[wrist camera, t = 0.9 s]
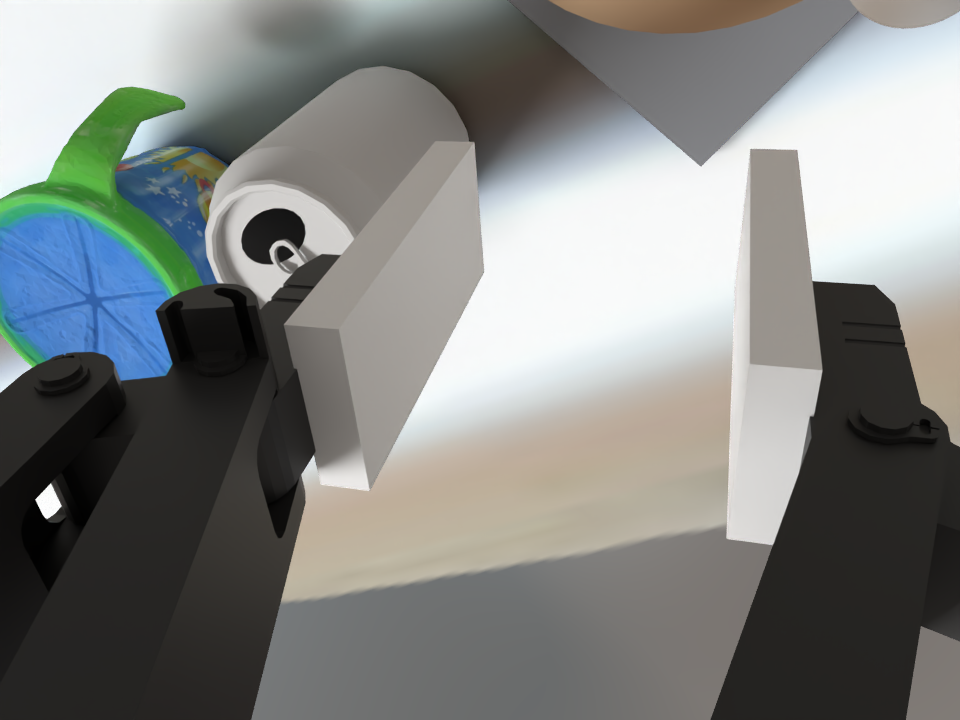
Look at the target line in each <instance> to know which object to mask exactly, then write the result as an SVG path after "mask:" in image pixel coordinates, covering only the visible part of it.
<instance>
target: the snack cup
mask: <svg viewBox="0 0 960 720" xmlns="http://www.w3.org/2000/svg"><path fill="white" fill-rule="evenodd" d="M183 109H185V103H184V102H183V101H182V100H181V99H180V98H178V97H176V96H171V95H168V94H164V93H160V92H156V91H153V90H149V89H143V88H136V87H125V88H118V89H117V90H115V91H114V92H112V93H111V94H110V95H109V96H108V97H107V98H105V100H104V101H103V102H102V103H101V104H100V105H99V106H98V107H97V108H96V109H95V110H94V111H93V112H92V113H91V114H90V115H89V116H88V118H87V119H86V120H85V121H84V122H83V123H82V124H81V125H80V126H79V127H78V128H77V130H76V131H75V132H74V133H73V135H72V136H71V138H70V139H69V141H68V143H67V144H66V145H65V146H64V148H63V150H62V152H61V153H60V155H59V157H58V158H57V160H56V161H55V164H54V166H53V169H52V171H51V173H50V175H49V178H48V179H47V181H44V182H41V183H37V184H33V185H29V186H27V187H24V188H21V189H19V190H16V191H14V192H12V193H10V194H9V195H7V196H5V197H3V198H2V199H0V333H1V334H2V336H3V337H4V338H5V339H6V340H7V342H8V343H9V344H10V345H11V347H12V348H13V349H14V350H15V351H16V352H17V353H18V354H19V355H20V356H21V357H22V358H23V359H24V360H25V361H26V362H27V363H28V364H30V365H31V366H32V367H34V366H36V365H37V364H40V363H42V362H45V361H47V360H49V359H51V358H52V357H54V356H58V355H61V354H64V355H66V353H72V352H96V353H99V354H103V355H107V356H108V357H109V358H110V359H111V360H112V361H113V362H114V364H115V367H116V369H117V372H118V375H119V377H120V380H121V381H122V380H131V379H141V378H150V377H159V376H166V375H167V373H168V371H169V369H170V367H171V365H172V361H171V358H170V355H169V351H168V348H167V345H166V342H165V339H164V336H163V333H162V330H161V327H160V324H159V321H158V318H157V315H156V312H155V311H156V310H157V309H158V308H159V307H160V306H161V305H162V304H163V303H164V302H165V301H166V300H168V299H169V298H171V297H173V296H175V295H177V294H178V293H180V292H183V291H186V290H189V289H192V288H195V287H198V286H203V285H210V284H217V283H218V282H217V280H216V278H215V276H214V273H213V271H212V268H211V265H210V263H209V260H208V258H207V252H206V240H205V230H206V226H207V222H208V219H209V215H210V213H209V207H210V203H211V200H212V196H213V193H214V189H215V185H216V182H217V181H218V180H219V178H220V177H221V176H222V175H223V173H224V172H225V171H226V170H227V168H228V167H229V165H228V164H226V163H225V162H223V161H222V160H220V159H218V158H217V157H216V156H213V155H211V154H210V153H209V152H208V151H207V150H206V149H205V148H198V147H195V146H171V147H162V148H157V149H153V150H149V151H146V152H143V153H141V154H140V155H137V156H132V157H129V158H126V159H123V160H121V159H122V157H123V155H124V153H125V151H126V150H127V146H128V145H129V144H130V141H131V139H132V137H133V135H134V133H135V131H136V129H137V127H138V126H139V124H140V123H141V122H142V121H144V120H147V119H150V118H153V117H156V116H160V115H163V114H166V113H169V112H172V111H176V110H183Z"/></svg>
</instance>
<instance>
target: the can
mask: <svg viewBox="0 0 960 720" xmlns="http://www.w3.org/2000/svg"><path fill="white" fill-rule="evenodd" d="M435 141H453V142H469V138H468V133H467V130H466V128H465V126H464V124H463V122H462V120H461V118H460V116H459V114H458V113H457V111H456V109H455V107H454V105H453V104H452V103H451V102H450V101H449V100H448V99H447V98H446V97H445V96H444V95H443V94H442V93H441V92H440V91H439V90H438V89H437V88H436V87H435V86H434V85H433V84H431V83H429V82H427V81H426V80H424V79H422V78H420V77H419V76H417V75H415V74H413V73H412V72H410V71H405V70H401V69H396V68H391V67H387V66H378V67H370V68H363V69H358V70H356V71H354V72H352V73H350V74H348V75H346V76H344V77H343V78H341V79H339V80H337V81H336V82H335V83H333V84H332V85H331V86H329V87H328V88H327V89H326V90H324V91H323V92H322V93H320V94H319V95H318V96H317V97H315V98H314V99H313V100H311V101H310V102H309V103H308V104H306V105H305V106H304V107H302V108H301V109H300V110H299V111H297V112H296V113H295V114H293V115H292V116H291V117H290V118H288V119H287V120H286V121H284V122H283V123H282V124H281V125H279V126H278V127H277V128H275V129H274V130H273V131H272V132H270V133H269V134H268V135H266V136H265V137H264V138H263V139H261V140H260V141H259V142H257V143H256V144H255V145H254V146H252V147H251V148H250V149H248V150H247V151H246V152H245V153H243V154H242V155H241V156H239V157H238V158H237V159H236V160H234V161H233V162H232V163H231V165H230V166H229V167H228V168H227V170H226V171H225V172H224V173H223V175H222V176H221V177H220V178H219V180H218V181H217V182H216V185H215V189H214V193H213V196H212V200H211V203H210V207H209V213H210V215H209V219H208V222H207V226H206V230H205V240H206V252H207V258H208V260H209V263H210V265H211V268H212V271H213V273H214V276H215V278H216V280H217V282H218V283H227V284H238V285H241V286H244V287H247V288H250V289H251V290H252V291H253V293H254V294H255V295H256V296H257V300H258V304H259V308H260V309H261V308H262V307H263V306H264V305H265V304H266V303H267V302H268V301H271V297H272V296H273V295H274V294H275V293H276V292H277V290H278V289H279V288H280V287H283V284H284V283H285V281H286V280H287V279H288V278H289V277H290V276H291V275H292V274H293V272H294V271H295V270H296V269H297V268H298V267H300V266H302V265H303V264H305V263H307V262H309V261H310V260H312V259H314V258H316V257H317V256H319V255H321V254H333V255H342V254H343V252H344V251H345V250H346V249H347V248H348V246H349V245H350V244H351V243H352V241H353V240H354V239H355V238H356V237H357V235H358V234H359V233H360V232H361V231H362V229H363V228H364V227H365V226H366V225H367V223H368V222H369V221H370V220H371V219H372V217H373V216H374V215H375V214H376V212H377V211H378V210H379V209H380V208H381V206H382V205H383V204H384V203H385V202H386V200H387V199H388V198H389V197H390V196H391V194H392V193H393V192H394V191H395V189H396V188H397V187H398V186H399V185H400V183H401V182H402V181H403V180H404V179H405V177H406V176H407V175H408V174H409V173H410V171H411V170H412V169H413V168H414V167H415V165H416V164H417V163H418V162H419V160H420V159H421V158H422V157H423V156H424V154H425V153H426V152H427V151H428V150H429V148H430V147H431V146H432V145H433V144H434V142H435Z"/></svg>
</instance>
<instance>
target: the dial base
mask: <svg viewBox="0 0 960 720" xmlns="http://www.w3.org/2000/svg"><path fill="white" fill-rule="evenodd" d="M508 1H509V2H510V3H511V4H513V5H514V6H515V7H516V8H517V9H518V10H520V11H521V12H522V13H523V14H524V15H525V16H527V17H528V18H529V19H530V20H531V21H532V22H534V23H535V24H536V25H537V26H538V27H539V28H540V29H542V30H543V31H544V32H545V33H546V34H547V35H549V36H550V37H551V38H552V39H553V40H554V41H556V42H557V43H558V44H559V45H560V46H561V47H563V48H564V49H565V50H566V51H567V52H568V53H570V54H571V55H572V56H573V57H574V58H575V59H577V60H578V61H579V62H580V63H581V64H582V65H583V66H585V67H586V68H587V69H588V70H589V71H590V72H592V73H593V74H594V75H595V76H596V77H597V78H599V79H600V80H601V81H602V82H603V83H604V84H606V85H607V86H608V87H609V88H610V89H611V90H613V91H614V92H615V93H616V94H617V95H618V96H620V97H621V98H622V99H623V100H624V101H625V102H626V103H628V104H629V105H630V106H631V107H632V108H633V109H635V110H636V111H637V112H638V113H639V114H640V115H642V116H643V117H644V118H645V119H646V120H647V121H649V122H650V123H651V124H652V125H653V126H654V127H656V128H657V129H658V130H659V131H660V132H661V133H663V134H664V135H665V136H666V137H667V138H668V139H670V140H671V141H672V142H673V143H674V144H675V145H676V146H678V147H679V148H680V149H681V150H682V151H683V152H685V153H686V154H687V155H688V156H689V157H690V158H692V159H693V160H694V161H695V162H696V163H697V164H699V165H700V166H702V165H703V164H704V163H705V162H706V161H707V160H708V159H709V158H710V157H711V156H712V155H713V154H714V153H715V152H716V151H717V150H718V149H719V148H720V147H721V146H722V145H723V144H724V143H725V142H726V141H727V140H728V139H729V138H730V137H731V136H732V135H733V134H734V133H735V132H737V131H738V130H739V129H740V128H741V127H742V126H743V125H744V124H745V123H746V122H747V121H748V120H749V119H750V118H751V117H752V116H753V115H754V114H755V113H756V112H757V111H758V110H759V109H760V108H761V107H762V106H763V105H764V104H765V103H766V102H767V101H768V100H769V99H770V98H771V97H772V96H773V95H774V94H775V93H776V92H777V91H778V90H779V89H780V88H781V87H782V86H783V85H784V84H785V83H786V82H787V81H788V80H789V79H790V78H791V77H792V76H793V75H794V74H795V73H796V72H797V71H798V70H799V69H800V68H801V67H802V66H803V65H804V64H805V63H807V62H808V61H809V60H810V59H811V58H812V57H813V56H814V55H815V54H816V53H817V52H818V51H819V50H820V49H821V48H822V47H823V46H824V45H825V44H826V43H827V42H828V41H829V40H830V39H831V38H832V37H833V36H834V35H835V34H836V33H837V32H838V31H839V30H840V29H841V28H842V27H843V26H844V25H845V24H846V23H847V22H848V21H849V20H850V19H851V18H852V17H853V16H854V15H855V14H856V13H857V12H858V10H857V9H856V8H855V6H854V5H853V4H852V3H851V1H850V0H803V1H801V2H799V3H797V4H794V5H792V6H790V7H787V8H785V9H783V10H780V11H778V12H776V13H773V14H771V15H769V16H767V17H763V18H760V19H757V20H753V21H750V22H746V23H743V24H740V25H736V26H733V27H729V28H723V29H716V30H710V31H704V32H698V33H674V34H658V33H649V32H639V31H629V30H625V29H621V28H617V27H613V26H609V25H604V24H600V23H596V22H594V21H591V20H589V19H586V18H584V17H581V16H579V15H576V14H574V13H571V12H569V11H566V10H564V9H563V8H561V7H559V6H557V5H556V4H554V3H552V2H550V1H548V0H508Z"/></svg>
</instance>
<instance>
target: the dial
mask: <svg viewBox="0 0 960 720" xmlns="http://www.w3.org/2000/svg"><path fill="white" fill-rule="evenodd" d="M548 1H550V2H552V3H554V4H556V5H557V6H559V7H561V8H563V9H564V10H566V11H569V12H571V13H574V14H576V15H579V16H581V17H584V18H586V19H589V20H591V21H594V22H596V23H600V24H604V25H609V26H613V27H617V28H621V29H625V30H629V31H639V32H649V33H658V34H674V33H698V32H704V31H710V30H716V29H723V28H729V27H733V26H736V25H740V24H743V23H746V22H750V21H753V20H757V19H760V18H763V17H767V16H769V15H771V14H773V13H776V12H778V11H780V10H783V9H785V8H787V7H790V6H792V5H794V4H797V3H799V2H801V1H803V0H548ZM850 1H851V3H852V4H853V5H854V6H855V8H856V9H857V10H858V11H859V12H860V13H862V14H863V15H864V16H865V17H867V18H869V19H870V20H872V21H874V22H876V23H879V24H881V25H884V26H889V27H893V28H917V27H923V26H927V25H931V24H934V23H937V22H939V21H942V20H945V19H946V18H948V17H950V16H952V15H954V14H956V13H957V12H959V11H960V0H850Z"/></svg>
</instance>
